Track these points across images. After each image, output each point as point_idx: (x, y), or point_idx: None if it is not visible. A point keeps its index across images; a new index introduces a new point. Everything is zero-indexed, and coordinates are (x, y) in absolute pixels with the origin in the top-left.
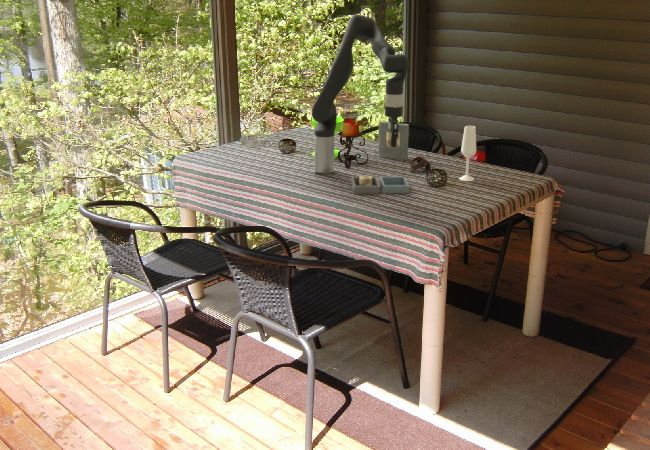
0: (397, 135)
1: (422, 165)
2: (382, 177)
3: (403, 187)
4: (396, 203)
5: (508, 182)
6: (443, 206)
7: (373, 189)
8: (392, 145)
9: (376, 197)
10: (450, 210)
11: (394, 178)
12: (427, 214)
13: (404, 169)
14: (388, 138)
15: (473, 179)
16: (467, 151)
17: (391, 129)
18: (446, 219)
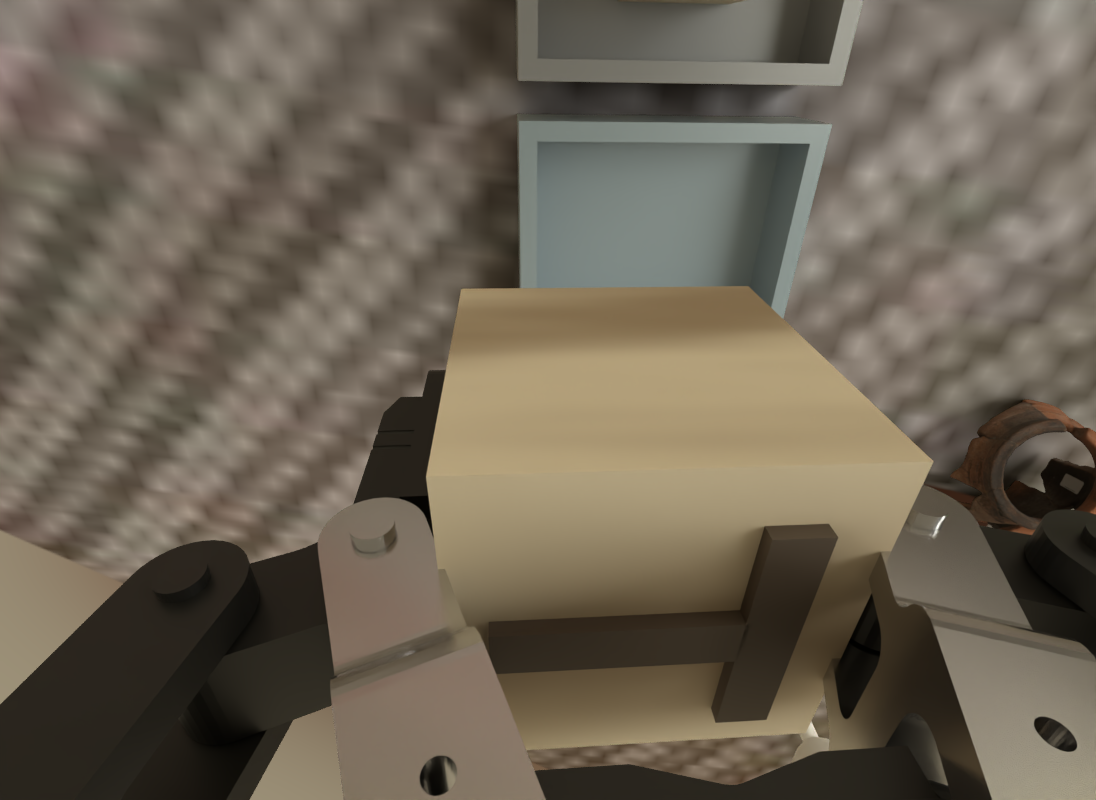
0: (159, 746)
1: (1049, 481)
2: (809, 150)
3: None
4: (282, 199)
5: None
6: (274, 484)
7: (516, 1)
8: (397, 406)
9: (432, 29)
10: (206, 507)
11: (777, 261)
12: (79, 381)
13: (1087, 364)
14: (445, 410)
15: None
16: None
17: (539, 782)
18: (21, 469)
